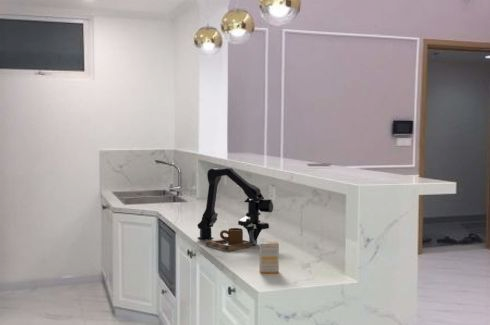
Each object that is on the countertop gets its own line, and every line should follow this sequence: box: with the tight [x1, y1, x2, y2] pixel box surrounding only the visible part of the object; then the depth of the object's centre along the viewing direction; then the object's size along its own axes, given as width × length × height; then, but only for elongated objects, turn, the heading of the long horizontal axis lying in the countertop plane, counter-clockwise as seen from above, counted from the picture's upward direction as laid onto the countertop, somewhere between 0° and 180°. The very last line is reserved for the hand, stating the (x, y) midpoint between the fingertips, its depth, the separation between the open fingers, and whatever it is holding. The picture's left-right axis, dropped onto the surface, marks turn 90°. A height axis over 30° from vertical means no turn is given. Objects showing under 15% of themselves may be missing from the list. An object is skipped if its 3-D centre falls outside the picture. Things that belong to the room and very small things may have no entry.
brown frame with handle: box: [205, 230, 258, 252], centre depth 295 cm, size 18×24×7 cm
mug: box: [219, 227, 244, 245], centre depth 291 cm, size 12×8×9 cm, turn 103°
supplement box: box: [258, 240, 280, 274], centre depth 243 cm, size 8×5×13 cm, turn 92°
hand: (253, 240), depth 299 cm, fingers closed on brown frame with handle, 3 cm apart
